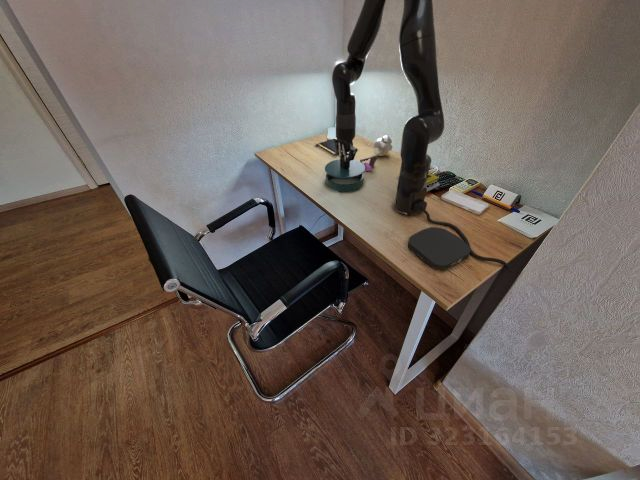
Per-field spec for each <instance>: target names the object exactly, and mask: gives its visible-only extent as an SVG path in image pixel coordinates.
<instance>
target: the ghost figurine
mask: <svg viewBox="0 0 640 480" xmlns="http://www.w3.org/2000/svg"><path fill="white" fill-rule="evenodd" d="M392 143H393V141H392V139H391V138H390V136H388V135H383V136H382V137H379V138H377V139H376V140H375V141H374V143H373V144H372V150H373V152H374V154H375V156H377V157H385V156H387V155H388V154H389V153H390V152H391V151H392V150H393V145H392Z"/></svg>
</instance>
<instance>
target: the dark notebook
mask: <svg viewBox="0 0 640 480" xmlns="http://www.w3.org/2000/svg"><path fill="white" fill-rule="evenodd" d="M334 140H337V139H335V138H332V139H327V140H325V141H322V142H318V143H316V144H315V146H316V147H317V148H320V149H322V150H324V151H325V152H327V153H328V154H331V155H332V156H333V157H339V155H337V151H336V147H335V142H334ZM353 147H354V149H355V148H356V146H353ZM338 149H339V148H338ZM346 153H347V152H346Z"/></svg>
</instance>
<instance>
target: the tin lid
mask: <svg viewBox="0 0 640 480" xmlns="http://www.w3.org/2000/svg"><path fill="white" fill-rule="evenodd" d="M347 158H348V156H347ZM344 161H345V159H344V156H343V157H342V167H341V166H340V158H339V159H334V160H331V161H329V162H327V164H325V166H324V171H325V173H326V174H328V175H330V176H332V177H331V178H336V179H352V178H353V179H354V178H356V177H358V176H359V175H361V174H362V173H363V174H364V173H365V171H366V170H365V166H364V163H363V162H362V163H361V162H360V160H356V159H354V160H351V161H350V168H349V169H344Z"/></svg>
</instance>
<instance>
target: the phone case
mask: <svg viewBox="0 0 640 480" xmlns="http://www.w3.org/2000/svg"><path fill="white" fill-rule="evenodd" d="M440 199H441V200H442V201H444V202H446V203H449V204H451V205H454V206H457V207H458V208H461V209H463V210H465V211H468V212H470V213H473V214H474V215H477V216H480V215H481V214H483V212H485V211H486V210H487V209H488V208H489V206H490V204H489V203H487V202H485V201H482V200H480V199H478V198H474V197H472V196H470V195H467V194H465V193H461V192H459V191H457V190H454V189H449V190H448V191H446V192H445V193H443V194H442V195H441V196H440Z"/></svg>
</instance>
